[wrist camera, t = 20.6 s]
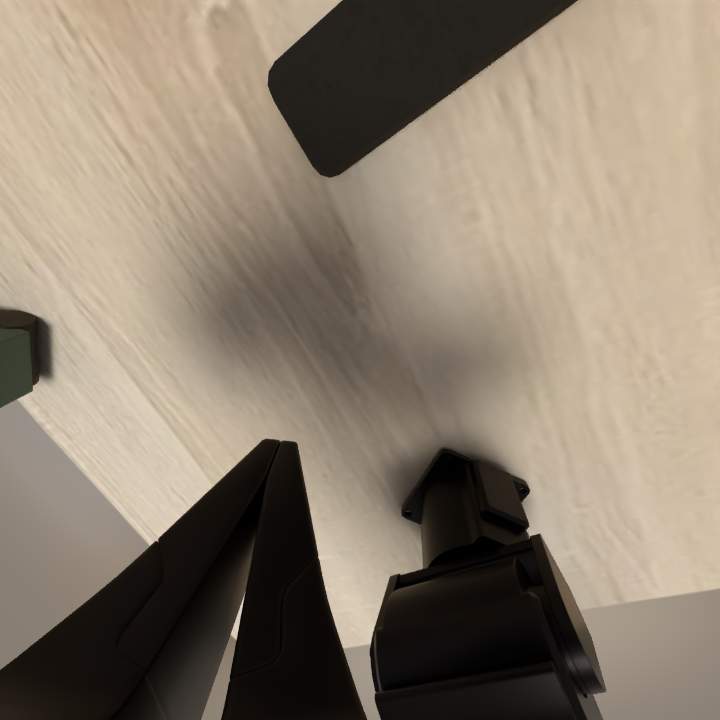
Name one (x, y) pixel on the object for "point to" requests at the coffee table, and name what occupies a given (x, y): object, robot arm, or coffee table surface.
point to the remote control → (389, 67)
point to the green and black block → (17, 355)
